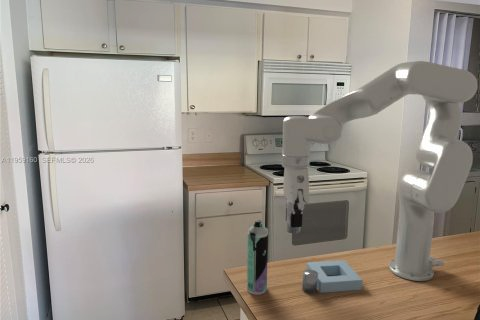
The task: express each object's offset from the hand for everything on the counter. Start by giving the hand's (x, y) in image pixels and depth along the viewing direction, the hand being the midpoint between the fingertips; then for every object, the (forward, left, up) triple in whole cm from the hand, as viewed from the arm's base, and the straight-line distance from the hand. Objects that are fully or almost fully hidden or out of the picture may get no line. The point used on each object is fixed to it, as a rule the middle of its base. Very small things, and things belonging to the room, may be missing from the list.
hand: (293, 223), depth 105 cm
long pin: (0, 0, -2) cm, 2 cm away
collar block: (-12, +3, -17) cm, 21 cm away
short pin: (-3, +7, -17) cm, 19 cm away
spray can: (+11, +5, -17) cm, 21 cm away
